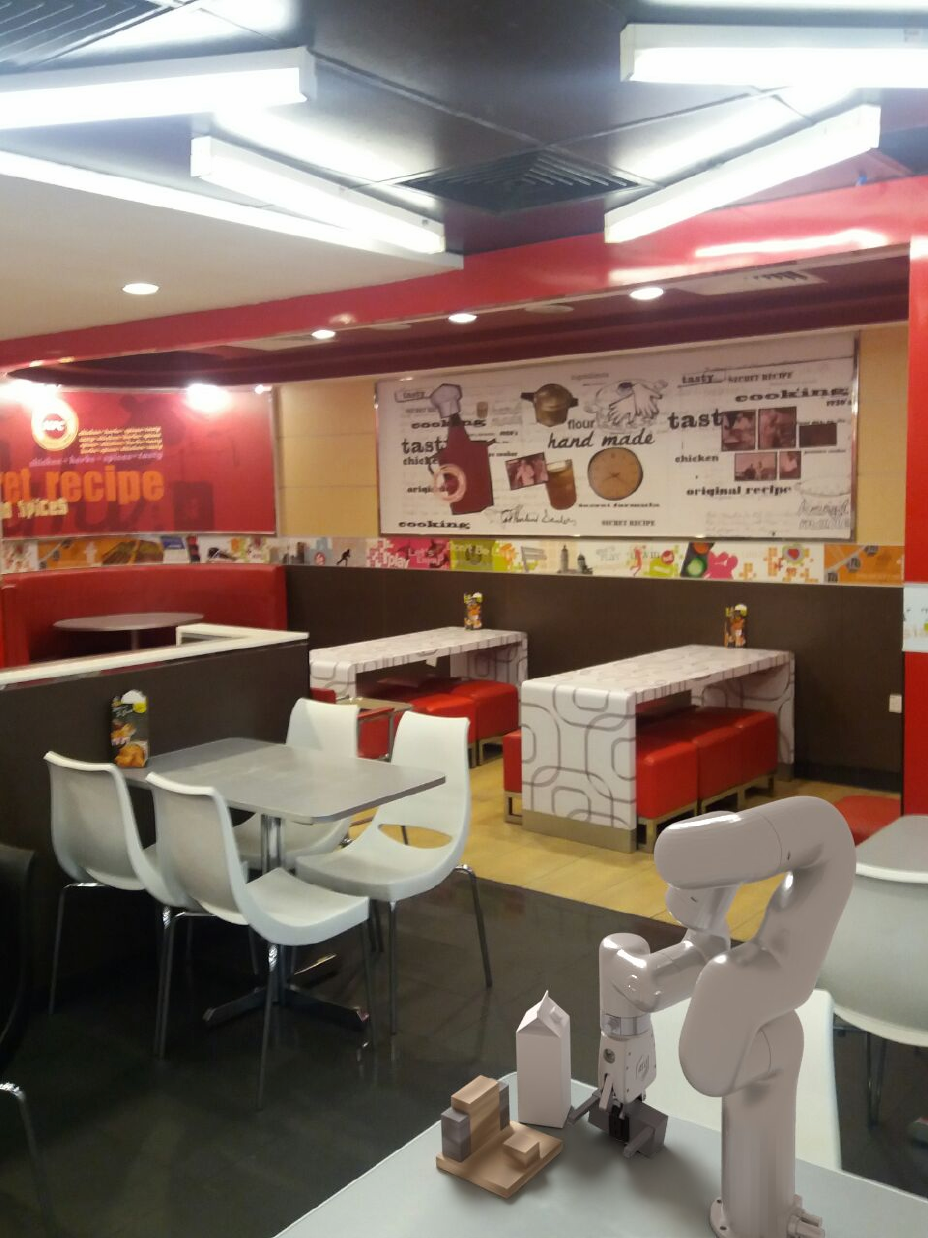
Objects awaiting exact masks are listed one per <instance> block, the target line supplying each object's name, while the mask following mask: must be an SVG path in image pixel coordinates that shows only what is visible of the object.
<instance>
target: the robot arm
mask: <svg viewBox="0 0 928 1238" xmlns="http://www.w3.org/2000/svg"><path fill="white" fill-rule="evenodd" d="M653 849H654V852H653V860H654V861H653V862H654V865H655V869H656V872H657V873H658V875H659V877H660V879H662V881H663V882H664V883H666V884H667V885H668V887H667V889H666V891H665V894H664V903H665V907H666V909H667V911H668V913H669V914H670V915H671V917H672V918H673V919H674V921H676V922H678V923H679V924H680V925H682V926H683V927H685V928H687V930H686V933H685V935H684V937H683V938H682V940H681V941H680V942H679V943H676V944H673V945H671V946H668V947H666V948H662V949H660V950H657V951H655V952H651V949H650V945H649V943H648V942H647V940H646V939H645V938H643V937H642V936H641V935H638V934H634V933H630V932H618V933H617V932H616V933H612V934H608V935H607V936H606V937H604V938H603V939H602V941H601V942H600V944H599V948H598V949H599V951H598V960H599V963H598V964H599V972H598V973H599V1018H600V1019H599V1023H600V1024H599V1025H600V1029H601V1035H600V1041H599V1050H598V1052H599V1053H598V1054H599V1055H598V1069H597V1070H598V1071H597V1072H598V1074H597V1076H598V1079H597V1081H598V1088H599V1091H600V1094H601V1096H602V1097H601V1100H600V1104H599V1109H601V1110H604V1111H606V1112H607V1114H609V1134H608V1136H609V1137H610V1138H612V1139H615V1140H617V1141H619V1142H622V1143H624V1144H625V1143H627V1142H628V1141H629V1117H627V1116H626V1112H627V1104H628V1103H630V1102H632V1101H633V1100H634V1099H635V1098H636V1099H638V1100H640V1101H642V1102H643V1103H645V1102H646V1101H645V1100H647V1099H646V1098H647V1092H646V1090H647V1089H648V1087H650V1086H651V1085H652V1084H653V1082H655V1080H656V1078H657V1052H656V1051H657V1049H656V1042H655V1041H656V1040H655V1033H654V1027H653V1023H652V1019H651V1018H652V1015H651V1014H653V1013H658V1012H661V1011H664V1010H665V1009H668V1008H670V1007H673V1006H675V1005H677V1004H679V1003H681V1002H684V1001H686V1000H688V999H690V998H691V999H690V1001H689V1005H688V1007H687V1011H686V1014H685V1017H684V1021H683V1022H682V1023H683V1024H682V1027H681V1031H680V1034H679V1039H678V1047H677V1048H678V1059H679V1060H678V1061H679V1065H680V1068H681V1070H682V1073H683V1076H684V1077H685V1079H686V1081H687V1083H688V1084H690V1086H691V1087H692V1088H693V1089H694V1090H695V1091H696V1092H698V1093H699V1094H701V1095H704V1096H707V1097H709V1098H710V1097H711V1098H721V1107H720V1108H721V1110H720V1111H721V1112H720V1114H721V1115H720V1116H721V1117H720V1118H721V1119H720V1120H721V1121H720V1122H721V1123H720V1124H721V1126H720V1127H721V1129H720V1131H721V1132H720V1134H721V1139H720V1140H721V1143H720V1145H721V1146H720V1147H721V1154H720V1155H721V1160H720V1161H721V1163H720V1164H721V1169H720V1171H721V1173H720V1174H721V1175H720V1176H721V1180H720V1181H721V1190H720V1192H721V1194H720V1195H718V1196H717V1197H716V1198H715V1199H714V1201H713V1202H712V1203H711V1206H710V1208H709V1223H710V1226H711V1229H712V1230H713V1231H714V1233H715V1235H716V1236H717V1237H718V1238H826V1231H825V1229H824V1228H822V1227H823V1217H820V1216H818V1215H815V1214H811V1213H810V1212H809V1213H808V1212H807V1211H806V1209H804V1208H803V1196H801V1195H799V1194H796V1130H797V1129H796V1123H797V1091H798V1083H799V1076H800V1072H801V1067H802V1063H803V1057H804V1050H805V1033H804V1028H803V1023H802V1022H801V1018H800V1017H799V1015H798V1013H797V1011H796V1010H797V1009H798V1008H799V1009H800V1007H802V1006H803V1005H804V1004H806V1003H807V1002H808V1000H809V999H810V998H811V997H812V994H813V992H814V991H815V987H816V984H817V981H818V979H819V977H820V974H821V971H822V968H823V965H824V963H825V960H826V958H827V956H828V953H829V950H830V947H831V945H832V941H833V939H834V934H835V932H836V929H837V926H838V924H839V922H840V920H841V916H842V915H843V912H844V910H845V909H846V906H847V903H848V900H849V898H850V896H851V893H852V890H853V887H854V883H855V879H856V873H857V864H858V863H857V861H858V860H857V850H856V845H855V841H854V837H853V833H852V831H851V829H850V827H849V824H848V822H847V821H846V819H845V817H844V816H843V814H842V813H841V812H840V811H839V810H838V808H836V807H835V805H834V804H832V803H830V802H829V801H827V800H826V799H824V798H820V797H817V796H811V795H795V796H789V797H785V798H781V799H778V800H775V801H771V802H768V803H764V804H761V805H757V806H754V807H751V808H749V809H744V810H741V811H738V812H733V811H729V810H717V811H710V812H707V813H704V814H701V815H698V816H697V815H696V816H694V817H691V818H687V819H684V820H680V821H677V822H674V823H671V824H670V825H668V826H666V827H665V828H664V829H663V830H661V833H660V834H659V835H658V837H657V839H656V841H655V845H654V848H653ZM783 874H785V875H784V877H783V878H782V880H781V882H780V883H779V884H778V885H777V887H776V888H775V889H774V891H773V892H772V894H771V896H770V897H769V900H768V902H767V905H766V907H765V911H764V914H763V917H762V920H761V922H760V925H759V926H758V928H757V931H756V933H755V934H754V935H753V937H750V939H748V940H747V941H745V942H742V943H741V944H739V945H737V946H735V947H732V948H731V943H732V942H731V932H730V926H729V924H728V921H727V918H726V916H727V914H728V912H729V910H730V909H731V906H732V904H733V902H734V900H735V898H736V896H737V893H738V891H739V889H740V887H741V886H744V885H750V884H751V885H752V884H755V883H758V882H762V881H765V880H769V879H771V878H774V877H777V876H780V875H783ZM614 1100H616V1101H619V1102H620V1108H619V1107H618V1106H617V1105H614Z"/></svg>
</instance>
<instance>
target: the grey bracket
mask: <svg viewBox="0 0 928 1238" xmlns="http://www.w3.org/2000/svg"><path fill="white" fill-rule="evenodd" d="M601 1097H602V1096H601V1094H600V1091H599V1087H598V1088H597V1089H596V1090H594V1091H593V1092H592V1093H591V1096H589V1098H587V1099H586V1100H585V1101H584V1102H583V1103H582V1104H580V1105H579V1106H578V1107H577V1108H576V1109H574V1110H573V1111H572V1112H571V1113H569V1114H568V1115H567V1119H566V1121H567V1123H569V1124H570V1125H573V1126H574V1124H576V1123H577V1122H578V1121H579V1120H580V1119H582V1118H583V1117H584V1116H585V1115H586V1114H587V1113H588V1119H587V1123H589V1124H590V1125H592V1126H594V1127H596V1128H597V1129H599V1130H601V1131H603V1132H605V1133H607V1134H608V1135H609V1114H607V1112H606V1111H604V1110H601V1109H599V1104H600V1100H601ZM614 1105H617V1106H618V1107H619V1108H620V1102H619V1101H616V1100H614ZM626 1116H627V1117H629V1141H628V1142H627V1143H624V1144H625V1145H626V1146H625V1147H624V1148H623V1155H624V1156H626V1157H627V1158H631V1157H632V1156H633V1155H634V1154H635V1153H636V1152H637V1151H638V1152H640V1153H641V1154H643V1155H645V1156H646V1157H649V1158H650V1159H651V1158H652V1157H653V1156H654V1155H655V1154H656V1153H657V1152H658V1151H659V1150H661V1149H662V1147H663V1146H664V1145H665V1139H666V1132H667V1128H668V1127H667V1126H668V1121H669V1115H668V1114H666V1113H663V1112H662V1111H661V1110H658V1109H656V1108H654V1107H652V1106H650V1105H649V1104H647V1103H646V1102H643V1101H640V1100H638V1099H636V1098H635V1099H634V1100H633V1101H632V1102H630V1103H628V1104H627V1112H626Z"/></svg>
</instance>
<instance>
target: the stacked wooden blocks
mask: <svg viewBox="0 0 928 1238" xmlns="http://www.w3.org/2000/svg"><path fill="white" fill-rule="evenodd" d="M450 1103H451V1104H450V1105H451V1106H450V1107H448V1108H447V1109H446V1110H445V1111H443V1112H442V1113H440V1129H441V1130H440V1131H441V1152H440V1153H438V1154H437V1155H436V1156H435V1166H436V1167H437V1168H439V1169H441V1170H444V1171H447V1172H448V1173H451V1174H453V1175H455V1176H457V1177H459V1178H461V1179H464V1180H465V1181H467V1182H470V1183H472V1184H474V1185H476V1186H479V1187H481V1188H483V1189H485V1190H488V1191H489V1192H491V1193H494V1194H496V1195H498V1196H501V1197H503V1198H505V1199H506V1200H508V1199H509V1198H510V1197H512V1195H514V1194H515V1193H516V1192H518V1190H520V1188H521V1187H523V1186H524V1185H525V1184H526V1183H527V1182H528V1181H530V1179H532V1178H533V1177H534V1176H535V1175H536V1174H538V1173H539V1172H540V1171H541V1170H542V1169H544V1167H545V1166H546V1165H548V1163H549V1162H551V1161H552V1160H553V1159H555V1158H556V1156H557V1155H559V1154H560V1153H561V1152H562V1151H563V1140H561V1139H559V1138H556V1137H554V1136H551V1135H549V1134H546V1133H544V1132H541V1131H539V1130H537V1129H534V1128H532V1127H529V1126H527V1125H524V1124H522V1123H521V1122H517V1121H514V1120H512V1119H511V1115H510V1111H511V1110H510V1085H509V1084H508V1083H505V1082H503V1081H500V1080H498V1079H495V1078H492V1077H490V1078H489V1077H487V1076H484V1075H482V1074H480V1075H478V1076H477V1077H476V1078H474V1079H473V1080H472V1081H470V1082H469V1083H468V1084H466V1085H465V1086H463V1087H462V1088H461V1089H459V1090H458V1091H456V1092H455V1093H454V1094H452V1095H451V1096H450Z"/></svg>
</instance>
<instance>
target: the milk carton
mask: <svg viewBox="0 0 928 1238" xmlns="http://www.w3.org/2000/svg"><path fill="white" fill-rule="evenodd" d="M544 993H545V994H544V996H543V997H542V999H541V1001H539V1002H538V1003H537V1004H535V1005H533V1006H532V1007H531V1008H529V1009H528V1010H527V1011H526V1012H525V1014H524V1016H523V1018H522V1020H521V1022H520V1024H519V1026H518V1028H517V1030H516V1032H515V1045H516V1046H515V1048H516V1050H515V1051H516V1080H517V1081H516V1082H517V1083H516V1084H517V1086H516V1087H517V1088H516V1089H517V1090H516V1091H517V1120H518V1122H517V1123H524V1124H530V1125H537V1126H545V1127H550V1128H558V1129H563V1128H564V1126H565V1122H566V1121H567V1119H568V1116H569V1112H570V1109H571V1107H572V1070H571V1069H572V1067H571V1065H572V1064H571V1060H572V1059H571V1022H570V1021H571V1018H570V1015H569V1014H568V1013H567V1012H566V1011H565V1010H564V1009H562V1008H561V1007H560V1006H559V1005H558V1004H557V1003H556V1002H555V1001H554V1000H553V999H552V998H550V997H549V990H548V989H547V990H546V992H544Z"/></svg>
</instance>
